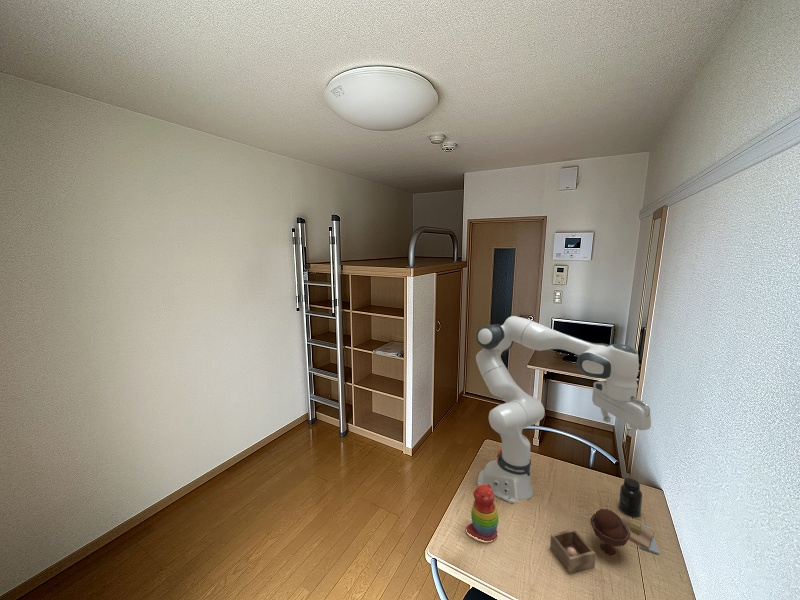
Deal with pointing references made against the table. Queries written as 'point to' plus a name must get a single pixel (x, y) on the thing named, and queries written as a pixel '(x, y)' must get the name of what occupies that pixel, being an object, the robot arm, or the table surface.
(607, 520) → the ice cream bowl
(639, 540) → the lid
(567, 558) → the walnut box
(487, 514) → the stacking bear
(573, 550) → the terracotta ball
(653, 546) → the felt pad
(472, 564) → the table surface
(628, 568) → the table surface
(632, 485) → the supplement bottle
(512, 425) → the robot arm
